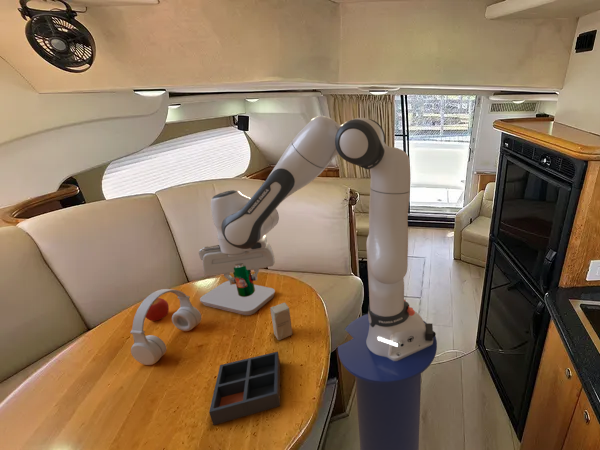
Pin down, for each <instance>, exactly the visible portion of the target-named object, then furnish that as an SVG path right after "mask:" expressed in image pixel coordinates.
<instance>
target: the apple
mask: <svg viewBox="0 0 600 450" xmlns="http://www.w3.org/2000/svg"><path fill="white" fill-rule="evenodd" d="M169 309H170V308H169V303H168V302H167V300H165V299H164V298H161V297H158V298H157V299H156V300H155V301H154V302H153V304H152V305H151V307H150V308H149V310H148V312H147V314H146V317H145V319H147V320H148V321H151V322H154V321H160V320H163V319H164V318H165V317H166V316H168V314H169Z"/></svg>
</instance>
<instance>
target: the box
mask: <svg viewBox="0 0 600 450" xmlns="http://www.w3.org/2000/svg"><path fill="white" fill-rule="evenodd" d="M269 308H270V309H269V310H270V315H271V321H272V328H273V334H274V336H275V338H276V339H277V340H278V341H281V340H284V339H285V338H288V337H290V336H292V335H293V327H292V319H291V312H290V307H289V306H288V304H287V303H286V302H282V303H279V304H276V305H274V306H271V307H269Z"/></svg>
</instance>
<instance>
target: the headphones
mask: <svg viewBox="0 0 600 450" xmlns="http://www.w3.org/2000/svg"><path fill="white" fill-rule="evenodd" d="M169 293H172V294H174V295H176V296H177V299H178V300H179V308H178V309H177V311H175V312H174V313H173V314H172V316H171V323H172V324H173V326H174V327H175V328H177V329H178V330H180V331H182V332H188V331H191V330H193V329H194V328H195V327H197V326H199V324H200V323H201V322H202V314H201V312H200V311H199V309H197V307H195V306H194V305H193V304H192V302H191V300H190V298H191V297H190V295H187V294H186V293H185V292H184V291H182V290H179V289H170V288H162V289H158V290H156V291H153V292H152V293H150V294H149V295H147V296H146V297H145V298H144V299H143V300H142V302H141V303H140V305H138V308H137V309H136V312H135V314H134V317H133V321H132V327H131V330H130V334H131V335H132V338H133V344H132V345H131V347H130V354H131V356H132V357H133V359H134V360H135V361H136V362H138V363H140V364H142V365H145V366H152V365H154V364H156V363H157V362H158V361H160V359H161V358H162V357H163V356H164V355H165V354H166V352H167V344H166V343H165V342H164V340H163V339H161V337H159V336H157V335H153V334H149V335H146V334H145V333H146V331H145V330H144V326H145V325H144V324H145V320H146V314H147V312H148V310H149V308H150V307H151V305H152V304H153V302H154V301H155V300H156V299H157V298H161V296H163V295H165V294H169Z"/></svg>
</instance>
